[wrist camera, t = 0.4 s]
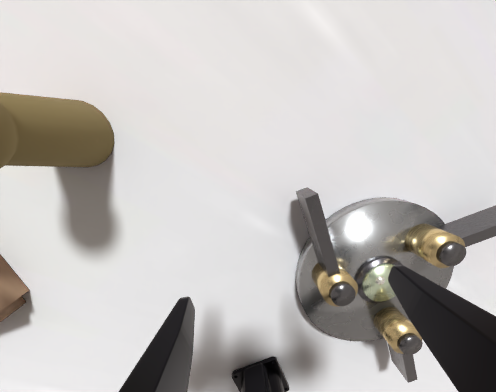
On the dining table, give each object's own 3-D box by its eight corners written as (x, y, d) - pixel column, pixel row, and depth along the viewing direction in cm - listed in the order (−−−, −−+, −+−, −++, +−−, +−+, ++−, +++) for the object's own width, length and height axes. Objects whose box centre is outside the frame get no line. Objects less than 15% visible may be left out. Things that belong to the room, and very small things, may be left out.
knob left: (344, 279, 23) (364, 303, 20) (316, 290, 23) (330, 316, 20) (318, 183, 20) (336, 191, 17) (284, 196, 20) (295, 206, 17)
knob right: (407, 256, 23) (438, 276, 20) (402, 230, 22) (434, 246, 19) (508, 219, 23) (557, 232, 19) (508, 191, 22) (560, 199, 19)
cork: (74, 84, 18) (-165, -7, 7) (128, 139, 19) (-3, 134, 8) (29, 129, 18) (-255, 110, 8) (84, 179, 20) (-89, 222, 9)
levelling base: (450, 325, 29) (496, 363, 24) (325, 370, 29) (345, 417, 24) (433, 173, 22) (490, 181, 17) (275, 232, 23) (287, 257, 18)
